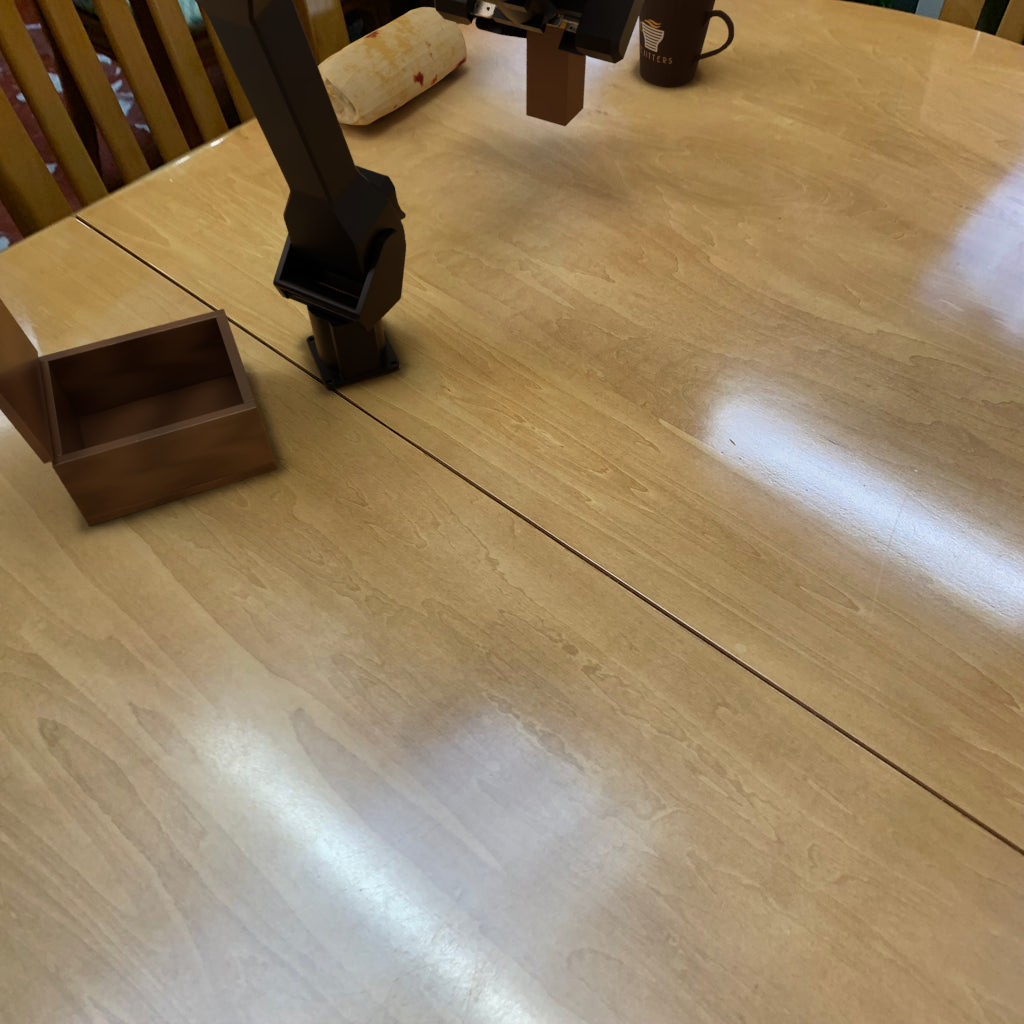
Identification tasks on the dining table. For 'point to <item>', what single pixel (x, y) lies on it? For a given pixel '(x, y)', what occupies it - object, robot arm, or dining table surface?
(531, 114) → the chocolate box
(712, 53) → the coffee mug
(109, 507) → the chest
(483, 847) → the dining table surface
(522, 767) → the dining table surface
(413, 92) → the food model
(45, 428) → the chest lid
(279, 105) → the robot arm
